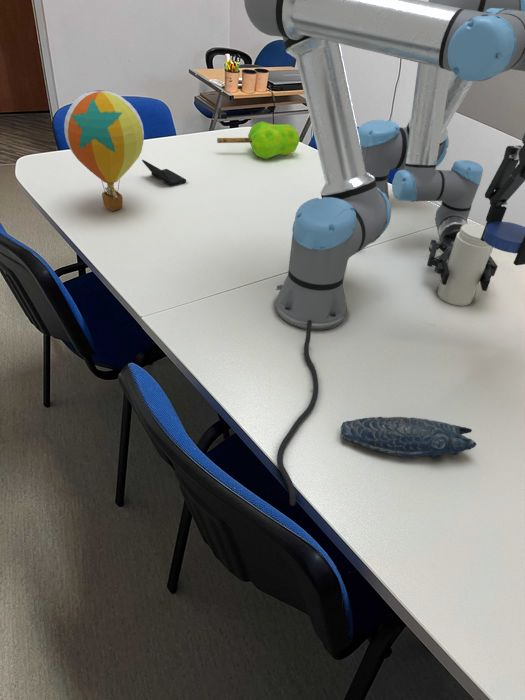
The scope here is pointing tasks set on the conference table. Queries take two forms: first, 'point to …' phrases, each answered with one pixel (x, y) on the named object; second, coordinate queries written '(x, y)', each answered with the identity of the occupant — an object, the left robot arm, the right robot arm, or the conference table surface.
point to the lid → (504, 236)
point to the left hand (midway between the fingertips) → (503, 251)
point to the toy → (105, 138)
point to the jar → (465, 265)
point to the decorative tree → (269, 139)
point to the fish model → (407, 436)
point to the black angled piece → (165, 175)
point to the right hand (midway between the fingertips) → (466, 282)
